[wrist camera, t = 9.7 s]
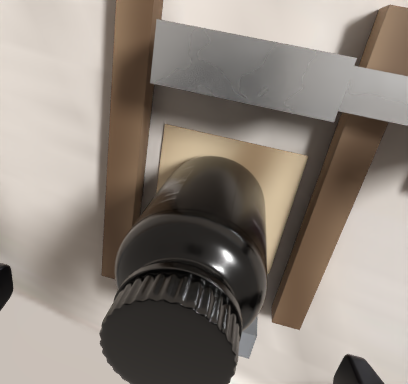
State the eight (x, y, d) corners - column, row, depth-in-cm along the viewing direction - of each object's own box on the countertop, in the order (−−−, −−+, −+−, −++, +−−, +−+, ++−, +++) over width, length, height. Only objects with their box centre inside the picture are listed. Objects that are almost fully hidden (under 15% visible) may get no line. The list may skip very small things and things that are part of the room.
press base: (574, 44, 15) (708, 39, 10) (392, 339, 23) (422, 408, 19) (130, -36, 17) (80, -69, 12) (110, 263, 25) (76, 309, 21)
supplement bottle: (174, 245, 23) (94, 411, 13) (157, 156, 21) (38, 268, 10) (269, 244, 22) (272, 431, 11) (264, 148, 19) (260, 270, 8)
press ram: (548, 93, 16) (824, 131, 8) (512, 151, 17) (719, 232, 9) (185, 23, 17) (121, -3, 10) (178, 80, 18) (115, 98, 11)
